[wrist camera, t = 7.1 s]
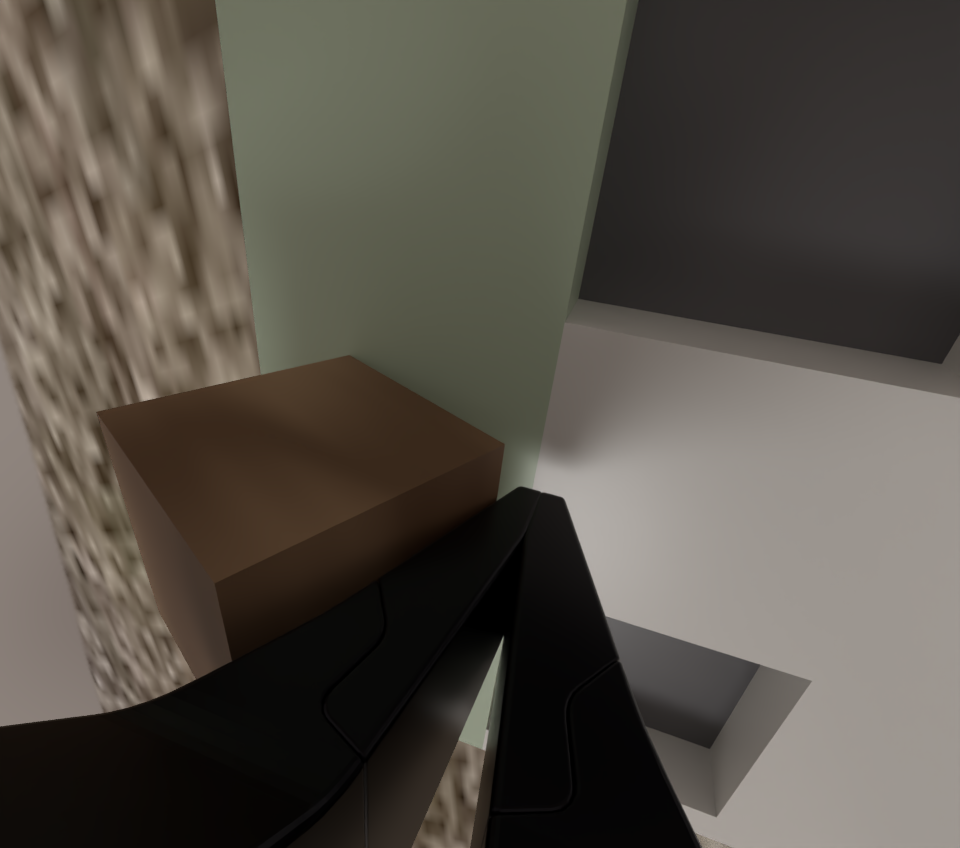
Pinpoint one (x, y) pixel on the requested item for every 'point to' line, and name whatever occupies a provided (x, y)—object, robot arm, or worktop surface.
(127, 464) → the walnut block
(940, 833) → the trap deck
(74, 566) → the worktop surface
